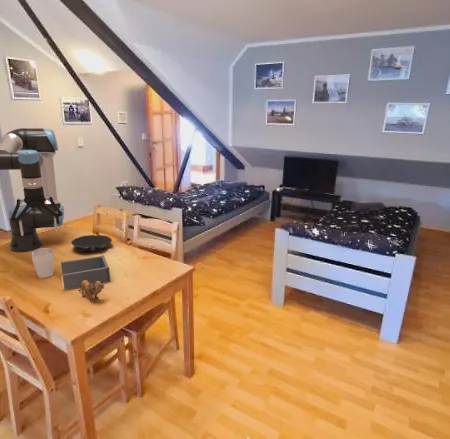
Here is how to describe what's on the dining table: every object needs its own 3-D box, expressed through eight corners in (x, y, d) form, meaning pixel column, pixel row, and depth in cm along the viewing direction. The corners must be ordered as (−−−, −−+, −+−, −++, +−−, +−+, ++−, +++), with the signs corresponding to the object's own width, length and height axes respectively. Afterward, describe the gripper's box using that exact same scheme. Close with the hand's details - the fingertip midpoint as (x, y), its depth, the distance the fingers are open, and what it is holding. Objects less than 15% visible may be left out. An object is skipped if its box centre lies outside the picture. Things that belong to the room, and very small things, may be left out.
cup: (47, 280, 154) (44, 256, 150) (30, 278, 155) (26, 254, 151) (60, 271, 162) (57, 248, 158) (44, 269, 164) (40, 246, 160)
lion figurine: (107, 299, 141) (106, 280, 138) (97, 305, 137) (95, 285, 134) (83, 289, 148) (81, 271, 145) (72, 295, 143) (70, 276, 140)
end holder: (61, 275, 158) (59, 262, 156) (105, 268, 167) (103, 255, 165) (62, 290, 146) (61, 275, 144) (110, 281, 155) (109, 267, 153)
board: (63, 248, 187) (62, 240, 186) (97, 239, 205) (96, 231, 203) (86, 259, 176) (86, 250, 174) (120, 248, 193) (120, 240, 192)
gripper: (-3, 191, 136) (6, 239, 143) (65, 186, 147) (70, 231, 154) (-1, 187, 142) (8, 233, 149) (64, 183, 154) (69, 226, 160)
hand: (39, 232), depth 152 cm, fingers open, 13 cm apart
